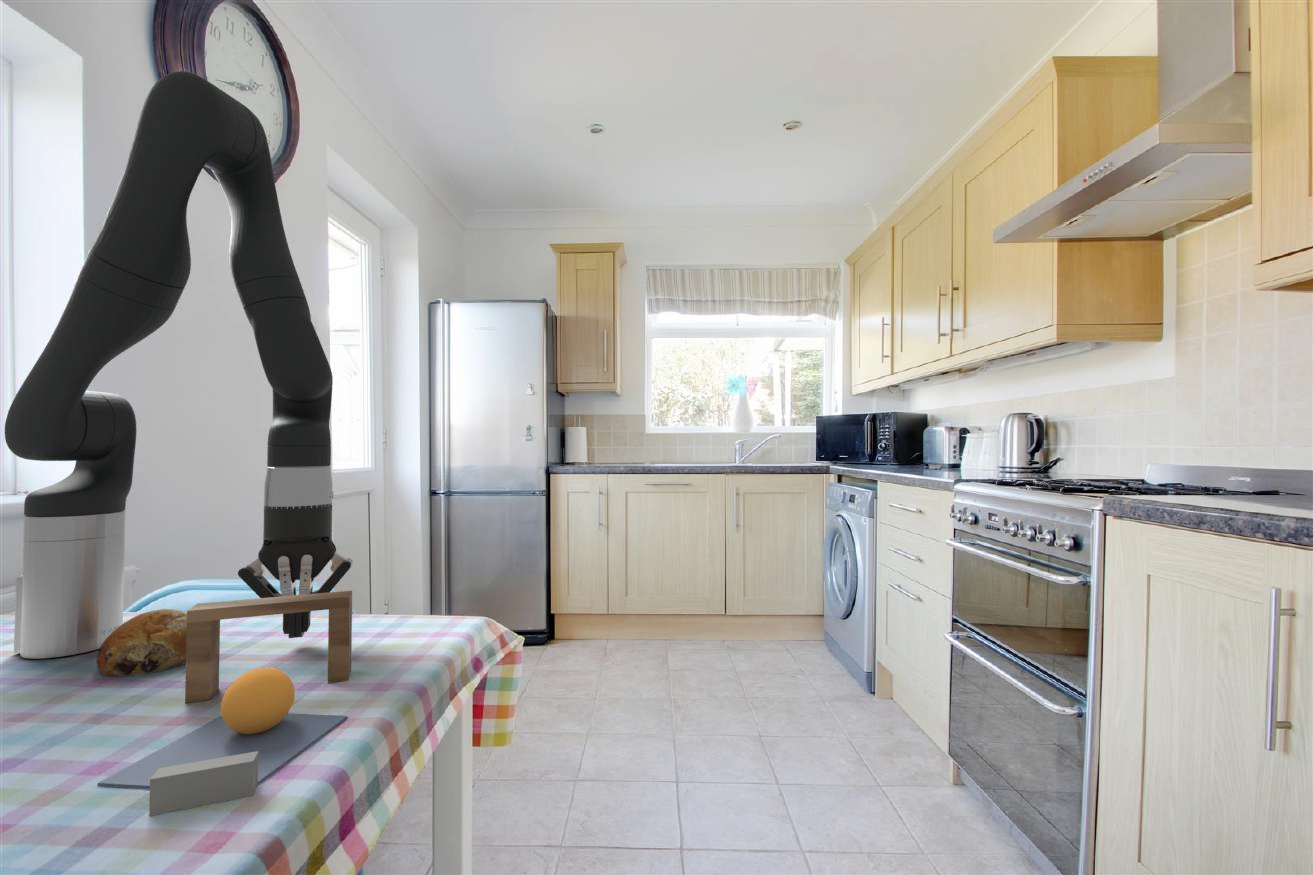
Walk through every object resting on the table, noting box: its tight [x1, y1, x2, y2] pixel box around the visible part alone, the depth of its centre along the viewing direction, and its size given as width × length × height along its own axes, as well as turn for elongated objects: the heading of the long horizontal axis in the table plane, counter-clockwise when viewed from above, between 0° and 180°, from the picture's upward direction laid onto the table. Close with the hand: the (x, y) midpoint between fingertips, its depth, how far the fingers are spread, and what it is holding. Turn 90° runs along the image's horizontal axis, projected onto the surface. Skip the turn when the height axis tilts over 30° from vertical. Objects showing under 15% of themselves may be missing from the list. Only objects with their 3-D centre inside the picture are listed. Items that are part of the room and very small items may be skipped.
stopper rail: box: [148, 751, 259, 817], centre depth 41 cm, size 2×6×2 cm, turn 113°
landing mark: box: [97, 712, 348, 790], centre depth 48 cm, size 12×12×1 cm
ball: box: [220, 666, 296, 734], centre depth 52 cm, size 6×6×6 cm
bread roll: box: [96, 608, 187, 677], centre depth 69 cm, size 10×10×8 cm
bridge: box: [184, 590, 353, 704], centre depth 61 cm, size 3×14×9 cm, turn 113°
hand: (296, 635), depth 73 cm, fingers closed
